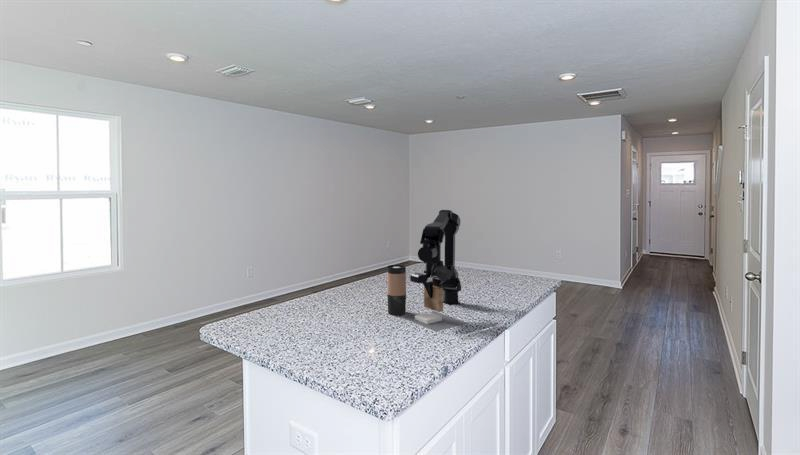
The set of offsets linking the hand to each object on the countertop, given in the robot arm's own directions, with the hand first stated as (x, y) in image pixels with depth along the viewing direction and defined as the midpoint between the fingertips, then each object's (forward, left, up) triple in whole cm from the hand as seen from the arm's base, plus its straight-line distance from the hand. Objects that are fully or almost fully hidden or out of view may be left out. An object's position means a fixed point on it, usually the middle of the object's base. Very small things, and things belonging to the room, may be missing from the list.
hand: (433, 297), depth 166 cm
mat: (+2, -1, -9) cm, 9 cm away
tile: (0, +1, -8) cm, 8 cm away
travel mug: (-15, -7, -9) cm, 19 cm away
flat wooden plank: (0, 0, -4) cm, 5 cm away
